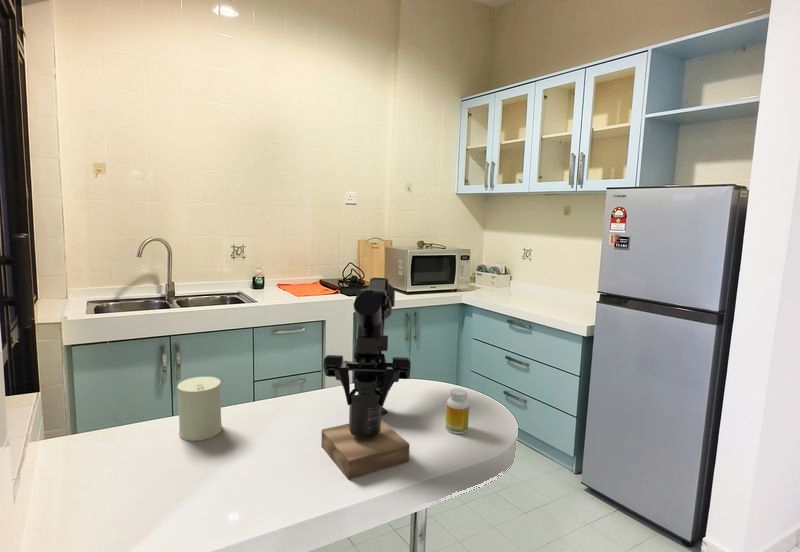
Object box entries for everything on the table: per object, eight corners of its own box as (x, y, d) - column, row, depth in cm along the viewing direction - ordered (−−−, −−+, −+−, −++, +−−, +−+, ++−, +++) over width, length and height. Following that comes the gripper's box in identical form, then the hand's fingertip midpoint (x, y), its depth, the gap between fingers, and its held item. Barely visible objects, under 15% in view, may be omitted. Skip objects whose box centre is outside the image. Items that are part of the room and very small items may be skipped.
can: (180, 444, 104) (178, 392, 102) (177, 426, 112) (175, 377, 110) (224, 436, 108) (223, 386, 107) (219, 419, 117) (218, 372, 115)
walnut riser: (321, 446, 106) (321, 429, 105) (377, 432, 113) (377, 416, 112) (348, 479, 94) (348, 460, 93) (408, 461, 101) (409, 444, 100)
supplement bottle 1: (379, 423, 106) (382, 372, 104) (381, 439, 100) (383, 385, 98) (348, 423, 106) (350, 371, 104) (348, 439, 99) (350, 384, 97)
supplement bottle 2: (466, 436, 113) (469, 397, 111) (444, 433, 114) (446, 394, 112) (468, 425, 118) (470, 388, 117) (446, 422, 119) (448, 385, 118)
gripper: (325, 319, 102) (316, 389, 93) (412, 322, 103) (411, 392, 94) (329, 343, 111) (321, 408, 102) (409, 345, 112) (408, 411, 103)
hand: (365, 405), depth 100 cm, fingers closed on supplement bottle 1, 7 cm apart
